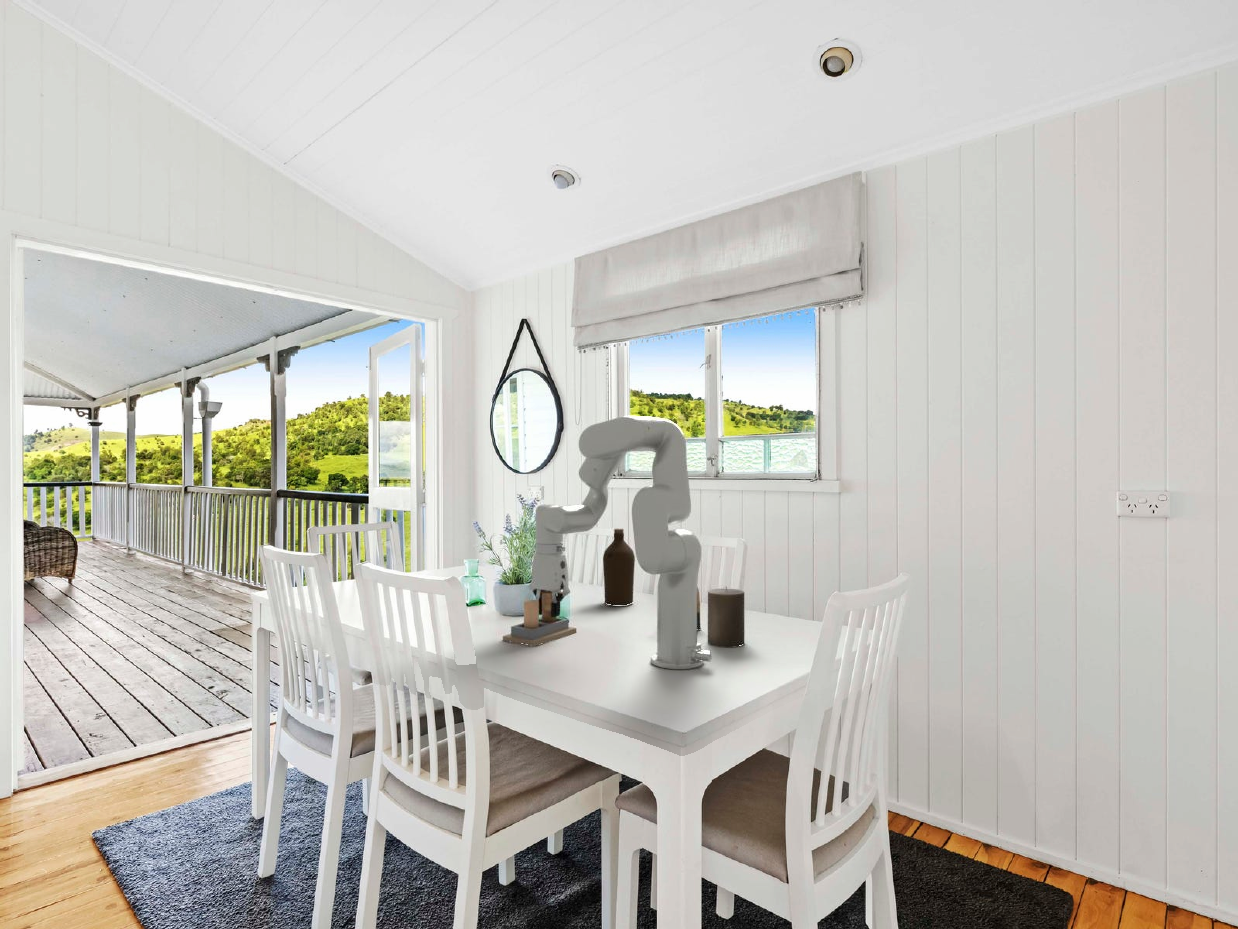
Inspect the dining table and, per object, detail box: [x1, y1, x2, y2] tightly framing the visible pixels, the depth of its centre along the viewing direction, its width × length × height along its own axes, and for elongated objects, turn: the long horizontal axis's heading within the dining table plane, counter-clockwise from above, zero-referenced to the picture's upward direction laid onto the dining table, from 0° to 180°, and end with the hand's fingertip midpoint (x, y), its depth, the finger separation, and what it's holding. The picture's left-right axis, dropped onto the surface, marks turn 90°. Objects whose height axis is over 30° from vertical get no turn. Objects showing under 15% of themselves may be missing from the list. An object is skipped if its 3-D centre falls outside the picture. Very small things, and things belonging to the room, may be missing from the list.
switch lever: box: [541, 591, 556, 623], centre depth 198 cm, size 4×4×9 cm
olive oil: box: [602, 528, 636, 605], centre depth 238 cm, size 11×11×25 cm
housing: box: [502, 599, 577, 647], centre depth 195 cm, size 11×18×10 cm, turn 146°
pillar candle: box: [707, 586, 746, 648], centre depth 188 cm, size 10×10×15 cm
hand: (549, 614), depth 198 cm, fingers closed on switch lever, 4 cm apart
